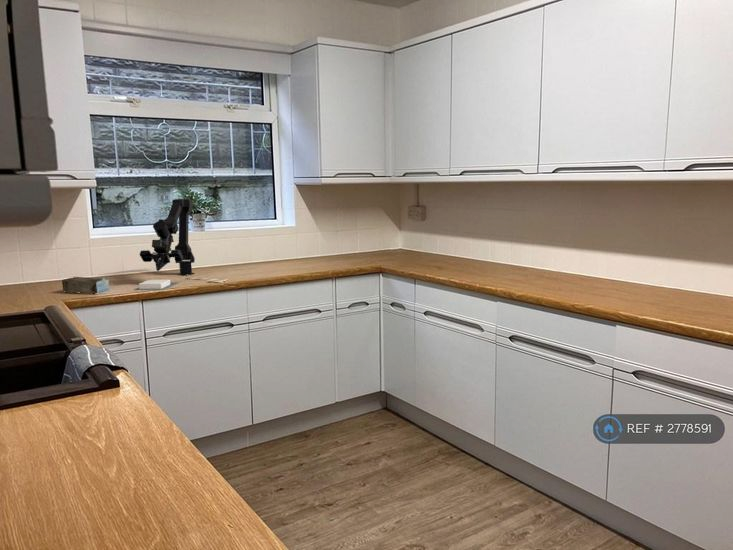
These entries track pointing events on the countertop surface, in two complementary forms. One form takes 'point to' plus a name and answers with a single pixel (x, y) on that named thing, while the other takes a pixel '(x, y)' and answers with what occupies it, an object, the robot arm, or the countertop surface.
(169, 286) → the mat
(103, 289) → the beverage carton
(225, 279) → the turner
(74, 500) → the countertop surface
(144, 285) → the tile
